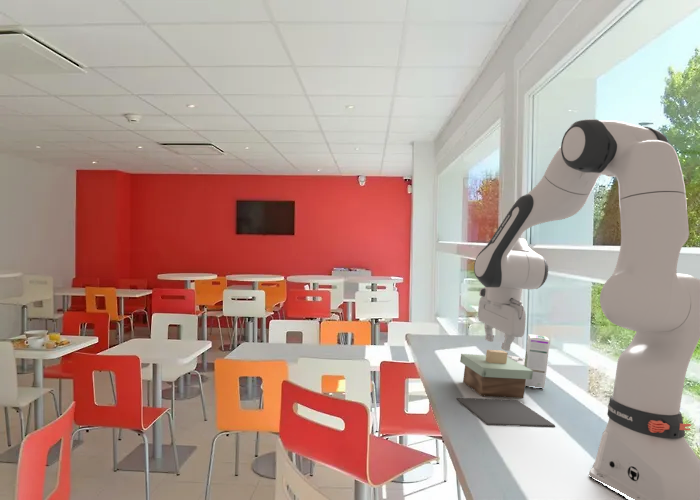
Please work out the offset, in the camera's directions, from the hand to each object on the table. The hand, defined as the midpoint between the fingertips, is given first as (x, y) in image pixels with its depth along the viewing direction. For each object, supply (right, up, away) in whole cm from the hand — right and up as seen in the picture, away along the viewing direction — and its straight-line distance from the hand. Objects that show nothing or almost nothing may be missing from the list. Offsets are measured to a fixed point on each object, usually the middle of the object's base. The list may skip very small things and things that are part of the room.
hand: (496, 345), depth 153 cm
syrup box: (+13, -14, +10) cm, 21 cm away
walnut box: (-1, -12, 0) cm, 12 cm away
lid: (+11, -13, +23) cm, 28 cm away
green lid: (-1, -7, 0) cm, 7 cm away
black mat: (-3, -13, -18) cm, 22 cm away
